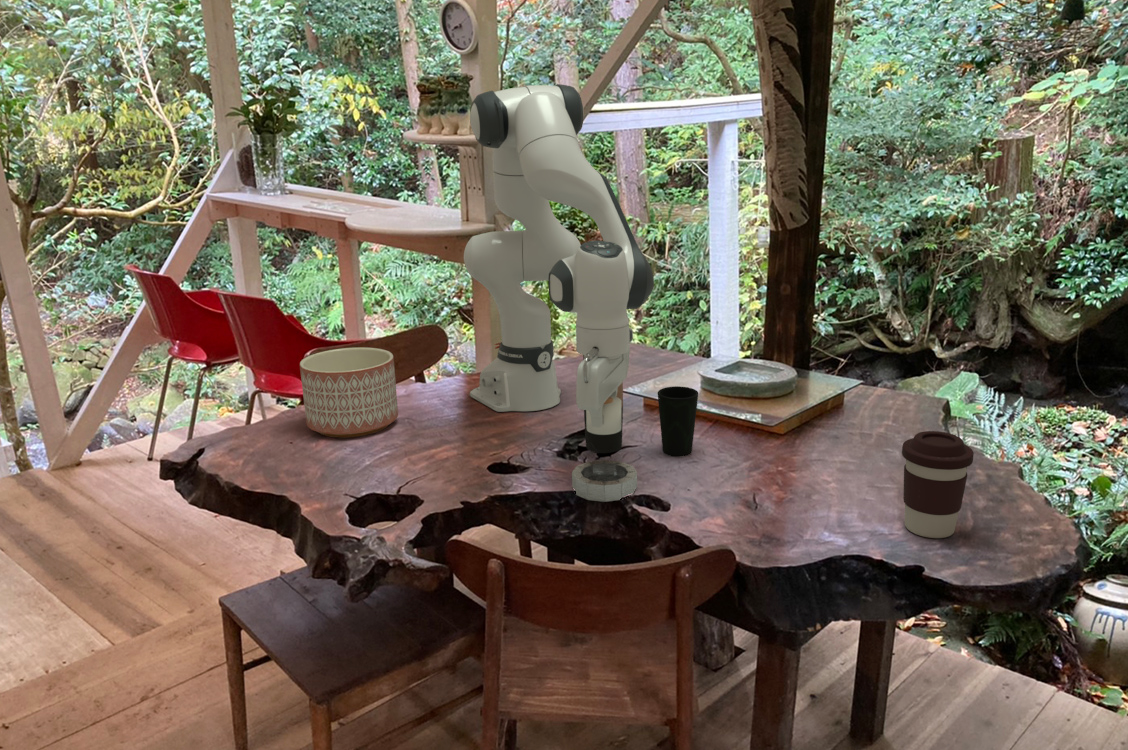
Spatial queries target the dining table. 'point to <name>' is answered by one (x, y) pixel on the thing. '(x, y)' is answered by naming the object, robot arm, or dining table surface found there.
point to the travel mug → (605, 441)
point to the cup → (677, 419)
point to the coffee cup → (934, 482)
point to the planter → (349, 391)
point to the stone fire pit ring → (604, 480)
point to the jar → (607, 418)
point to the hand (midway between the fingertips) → (603, 419)
